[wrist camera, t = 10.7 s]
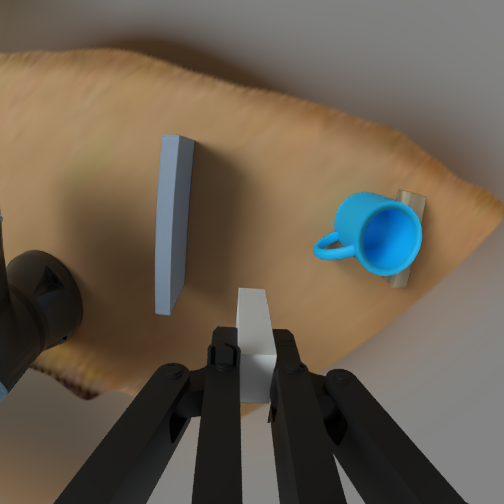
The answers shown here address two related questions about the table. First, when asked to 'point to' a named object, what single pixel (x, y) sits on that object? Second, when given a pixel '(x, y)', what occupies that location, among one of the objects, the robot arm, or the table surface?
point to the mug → (374, 234)
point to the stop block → (417, 205)
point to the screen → (172, 220)
